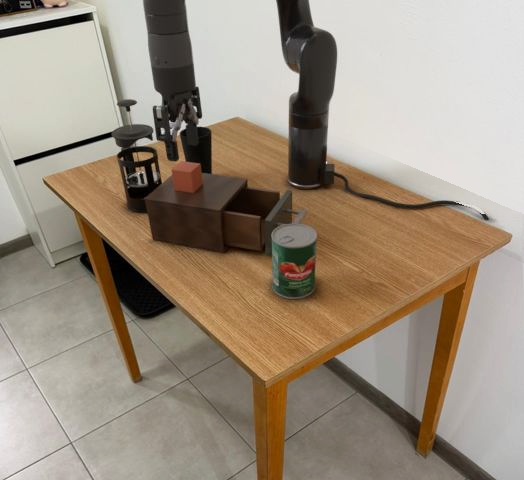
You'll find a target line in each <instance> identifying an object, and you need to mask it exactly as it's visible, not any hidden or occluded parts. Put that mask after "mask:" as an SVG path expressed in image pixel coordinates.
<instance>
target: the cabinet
mask: <svg viewBox="0 0 524 480" xmlns="http://www.w3.org/2000/svg"><path fill="white" fill-rule="evenodd" d="M202 181H203V184H202V185H201V186H200V187H199V188H198V189H197V190H196V191H195V192H194V193H190V192H183V191H176V190H175V189H174V183H173V176H172V174H171V175H170V176H168V178H166V179H165V180H164V181H162V184H161V185H160V186H159V187H157V188H156V189H155V190H154V191H153V192H152V193H150V194H149V195H148V196H145V197H144V199H145V203H146V208H147V213H146V214H147V218H148V222H149V228H150V233H151V237H152V241H154V242H160V243H166V244H172V245H176V246H182V247H187V248H193V249H199V250H205V251H210V252H216V253H220V254H221V253H222V254H225V252H226V251H227V250H228V248H229V247H230V246H229V245H224V234H223V223H222V211H223V210H224V209H225V208H226V207H227V205H228V204H229V203H230V202H231V201H232V200H233V199H234V197H235V196H236V195H237V194H238V193H239V192H240V191H241V190H242V188H243V187H244V186H245V187H249V180H248V178H243V177H237V176H236V177H235V176H230V175H229V176H228V175H222V174H213V173H212V174H207V173H202Z"/></svg>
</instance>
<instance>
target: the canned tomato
mask: <svg viewBox="0 0 524 480" xmlns="http://www.w3.org/2000/svg"><path fill="white" fill-rule="evenodd" d="M271 237H272V256H271V266H272V267H271V269H272V270H271V272H272V274H271V275H272V277H271V278H272V290H273V292H274V293H275V294H276V295H278V296H279V297H281V298H284V299H288V300H299V299H304V298H306V297H308V296H310V295H311V294H313V292H314V290H315V281H316V266H317V265H316V264H317V263H316V261H317V239H318V233H317V231H316V230H315V229H314V228H313V227H311V226H309V225H308V224H303V223H301V224H285V225H282V226H279V227H277V228H276V229H275V230H273V232H272V235H271Z"/></svg>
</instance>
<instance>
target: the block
mask: <svg viewBox="0 0 524 480" xmlns="http://www.w3.org/2000/svg"><path fill="white" fill-rule="evenodd" d="M171 175H172V176H173V183H174V189H175V190H176V191H183V192H190V193H194V192H195V191H196V190H197V189H198V188H199V187H200V186H201V185H202V184H203V181H202V173H201V164H199V163H192V162H186V161H185V160H184V161H183V160H180V162H178V163H177V164H176V165H175V166H174V167H173V168H171Z"/></svg>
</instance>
